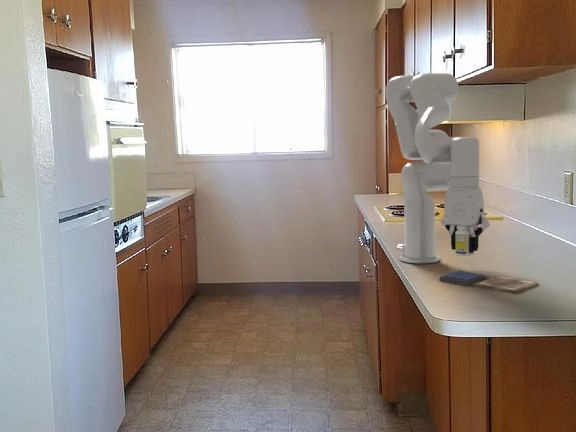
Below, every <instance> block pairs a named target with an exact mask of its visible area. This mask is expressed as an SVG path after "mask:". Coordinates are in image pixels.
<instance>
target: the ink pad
mask: <svg viewBox="0 0 576 432" xmlns="http://www.w3.org/2000/svg"><path fill="white" fill-rule="evenodd" d="M485 279H488V277H487V275H484V274H482V273H476V272H469V271H464V270H455V271H453V272H452V271H451V272H449V273H446V274H443V275H440V276H439V282H444V283H450V284H455V285H460V286H465V287H470V286H473V283H476V282H479V281H482V280H485Z"/></svg>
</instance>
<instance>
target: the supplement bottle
mask: <svg viewBox="0 0 576 432" xmlns="http://www.w3.org/2000/svg"><path fill="white" fill-rule="evenodd" d="M457 229H458V230H457V231H456V232H455V243H456V249H455V255H457V256H462V257H463V256H464V257H466V256H468V257H469V256H473V255H474V254H475V253H474V252H475V251H473V252H470V251H469V237H471V233H470V228H469V226H459V225H457Z"/></svg>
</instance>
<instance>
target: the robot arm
mask: <svg viewBox="0 0 576 432" xmlns="http://www.w3.org/2000/svg"><path fill="white" fill-rule="evenodd" d="M458 93H459V83H458V81H457V78H455V76H454V75H453V74H452V73H447V72H444V73H443V72H442V73H439V72H438V73H436V72H435V73H433V72H432V73H431V72H430V73H427V72H426V73H420V74H417V75H415V74H413V75H410V74H409V75H408V74H407V75H398V76H394V77H392V78H391V79H389V80H388V82H387V84H386V86H385V101H386V104H387V107H388V110H389V112H390V115H391V116H392V119H393V121H394V123H395V127H396V129H395V130H396V134H397V140H398V144H399V149H400V152H401V155H402V157H403V158H405V160H411V161H410V162H407V163H406V164H405V165H404V166H403V167H402V169H401V174H400V177H401V183H402V184H401V185H402V190H403V201H404V203H403V204H404V206H403V207H404V211H403V212H404V217H403V218H404V229H403V230H404V234H403V235H404V236H403V237H404V242H403V243H404V244H399V243H398V244H397V246H396V247H395V251H398V252H401V254H400V255H399V260H400V261H402V262H404V263H409V264H433V263H434V264H435V263H437V262H439V261H440V259H441V258H440V257H441V256H440V255H438V254H436V253H435V251H436V247H435V246H436V245H435V244H436V243H435V242H436V205H435V202H434V200H433V198H432V197H431V196H430V194H429V192H433V191H446V193H445V198H444V208H443V209H444V210H443V216H442V219H441V220H440V223H441V224H442V226H444V227H445V229H446V230H447V231H448V235H449V236H450V246H451V250H452V251H454V250H455V251H456V243H455V232H456V231H457V230H458V229H457V225H459V226H469V228H470V233H471V237H469V251H470V252H473V251H474V252H476V251H477V252H478V248H479V237H480V236H481V234H482V233H483V232H484V231H485V230H486V229H488V228H489V227H490V226H491V224H490V222H489V221H488V219H487V218H486V216H485V203H484V197H483V191H482V188H480V140H479V138H478V137H475V136H449V135H448V134H447V133H446V132H445V131H444V130H441V129H433V128H435V127H437V126H439V125H441V124H443V123H444V122H445V121H446V120H447V119H448V118H449V116H450V112H451V111H450V106H449V104H448V102H452V101H453V100H454V99H456V98H457V95H458ZM410 103H414V104H415V107H416V108H415V107H413V106H412V105H411V104H410ZM479 225H480V226H479Z"/></svg>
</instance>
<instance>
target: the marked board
mask: <svg viewBox="0 0 576 432" xmlns="http://www.w3.org/2000/svg"><path fill="white" fill-rule="evenodd" d="M539 284H540V283H539V282H535V281H530V280H525V279H519V278H512V277H507V276H500V275H495V276H492V277H489V278H488V277H487V279H485V280H482V281H479V282H476V283H473V285H472V286H473V287H480V288H483V289H489V290H495V291H498V292H500V291H501V292H505V293H509V294H515V295H516V294H518V293H521V292H523V291H527V290H529V289H531V288H534V287H537V286H539Z"/></svg>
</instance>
